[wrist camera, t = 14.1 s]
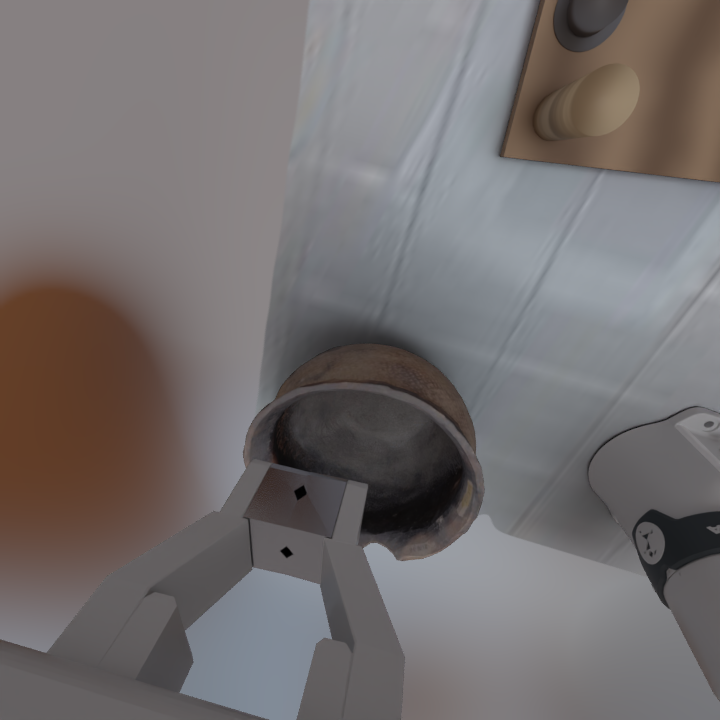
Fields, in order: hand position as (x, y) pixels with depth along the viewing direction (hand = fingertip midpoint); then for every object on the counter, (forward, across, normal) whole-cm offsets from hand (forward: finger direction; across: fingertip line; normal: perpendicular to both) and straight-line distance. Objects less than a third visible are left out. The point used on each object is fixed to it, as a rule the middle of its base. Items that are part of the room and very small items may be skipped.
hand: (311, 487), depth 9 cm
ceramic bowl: (+31, 0, +19) cm, 37 cm away
